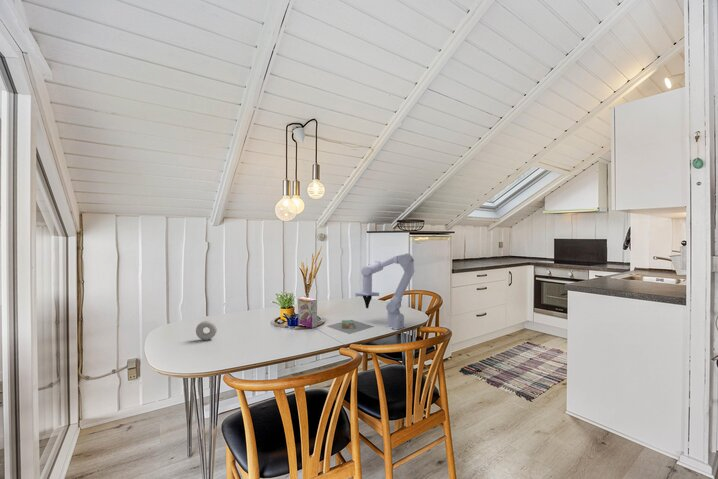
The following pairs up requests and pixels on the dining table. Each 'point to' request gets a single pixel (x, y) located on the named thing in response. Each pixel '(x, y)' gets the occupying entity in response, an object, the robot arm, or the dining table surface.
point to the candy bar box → (307, 312)
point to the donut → (206, 335)
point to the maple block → (347, 324)
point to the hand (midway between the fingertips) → (367, 307)
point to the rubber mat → (357, 327)
